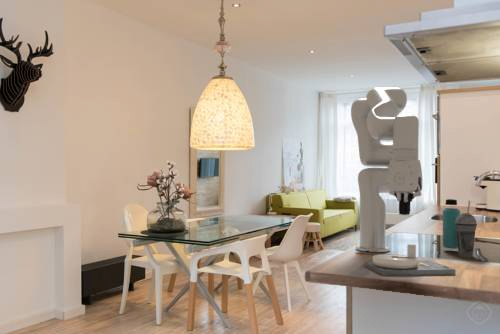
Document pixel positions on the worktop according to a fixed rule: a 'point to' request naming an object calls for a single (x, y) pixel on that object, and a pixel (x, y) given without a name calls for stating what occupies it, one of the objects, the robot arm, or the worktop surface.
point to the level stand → (413, 269)
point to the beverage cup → (465, 233)
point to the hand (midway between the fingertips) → (404, 214)
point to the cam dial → (398, 259)
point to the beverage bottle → (450, 225)
